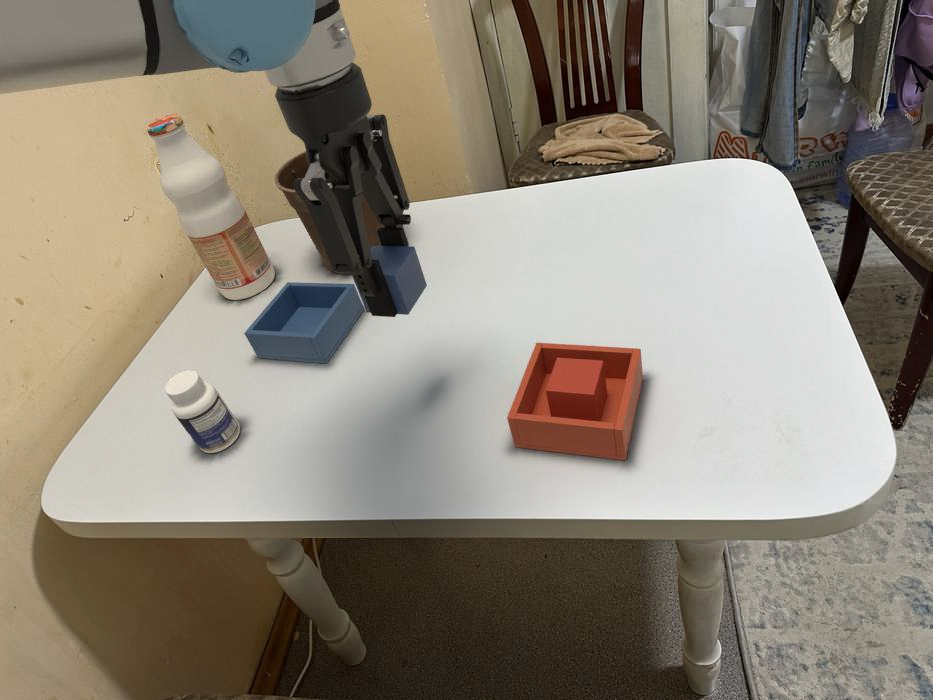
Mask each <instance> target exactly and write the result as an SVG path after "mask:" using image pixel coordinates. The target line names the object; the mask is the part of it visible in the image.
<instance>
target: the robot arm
mask: <svg viewBox="0 0 933 700" xmlns="http://www.w3.org/2000/svg"><path fill="white" fill-rule="evenodd" d="M356 57H357V54H356V51H355V48H354V44H353V41H352V39H351V33H350V30H349V28H348V26H347V23H346V21H345V17H344V15H343V12H342V9H341V4H340V1H339V0H0V95H5V94H12V93H21V92H27V91H36V90H42V89H43V90H44V89H50V88H59V87H65V86H73V85H79V84H80V85H81V84H87V83H96V82H104V81H111V80H118V79H126V78H133V77H143V76H158V75H169V74H175V73H182V72H190V71H199V70H206V69H216V68H219V69H221V70H226V71H228V72H230V73H234V74H242V73H243V74H244V73H250V72H264V74H265V77H266V79H267V82H268V83H269V84H270V85H271V86H273V87H275V88H276V91H275V94H274V97H275V99H276V102H277V104H278V108H279V109H280V112H281V114H282V116H283V119H284V122H285V125H286V127H287V128H288V130H289V132H290V133H291V134H292V135H294V136H295V137H297V138H299V139H300V140H301V141H302V143H303V144H304V147H305V151H306V156H307V162H308V164H309V166H310V167H309V169H308V171H307V173H306V175H305V177H304V178H297V179H295V181H294V190H295V191H296V193H297V194H298V195H299V196H300V198H301V199H302V200H303V202H304V203H305V204H306V206H307V208H308V211H309V213H310V216H311V218H312V221H313V223H314V225H315V228H316V230H317V233H318V235H319V237H320V240H321V242H322V245H323V247H324V249H325V252H326V254H327V257H328V259H329V261H330V264H331V266H332V269H333V271H334V274H350V275H351V274H353V276H354V278H355V281H356V283H357V286H358V288H359V291H360V293H361V294H362V295H363V296H364V297H365V300H366V302H367V305H368V307H369V310H370V312H371V313H370V314H371V317H386V318H395V317H397V315H398V314H397V313H398V312H397V309H396V307H395V304H394V301H393V299H392V296H391V293H390V291H389V288H388V285H387V282H386V280H385V277H384V274H383V271H382V268H381V265H380V263H379V260H372V257H371V252H370V247H369V242H368V237H367V232H366V227H365V222H364V217H363V212H362V207H361V202H360V197H359V195H360V194H361V193H362V194H363V196H364V198H365V199H366V201H367V203H368V205H369V206H370V208H371V210H372V211H373V213H374V215H375V217H376V218H377V220H378V222H379V224H380V225H384V227H385V228H379V229H378V230H377V234H378V237H379V240H380V242H381V245H382V246H410V243H409V239H408V237H407V235H406V231H405V227H404V226H409V225H410V224H411V222H412V216H411V214H410V213H409V214H404V212H405V211H408V210H409V209H410V206H411V204H410V203H411V202H410V200H409V196H408V193H407V190H406V186H405V184H404V180H403V177H402V174H401V171H400V168H399V164H398V161H397V159H396V155H395V152H394V148H393V145H392V143H391V140H390V134H389V133H390V132H389V126H388V120H387V117H386V115H385V114H383V113H382V114H371V115H368V114H369V113H370V112H371V110H372V107H373V106H372V105H373V104H372V99H371V96H370V93H369V89H368V86H367V83H366V79H365V77H364V73H363V71H362V68H361V66H359V65H357V64H356V63H355V62H354V61H355V59H356ZM336 185H349V186H339V187H338V186H336ZM333 271H332V272H333Z"/></svg>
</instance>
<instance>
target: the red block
mask: <svg viewBox="0 0 933 700" xmlns="http://www.w3.org/2000/svg"><path fill="white" fill-rule="evenodd" d="M546 395H547V400H548V405H549V409H550V414H551V417H560V418H570V419H579V420H589V421H599V422H600V420H601V417H602V413H603V409H604V405H605V401H606V397H607V387H606V378H605V370H604V362H603V361H601V360H586V359H571V358H557V359H556V362H555V365H554V368H553V371H552V373H551V376H550V379H549V382H548V385H547V388H546Z"/></svg>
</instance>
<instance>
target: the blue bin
mask: <svg viewBox="0 0 933 700" xmlns="http://www.w3.org/2000/svg"><path fill="white" fill-rule="evenodd" d="M364 310H365V306H364V304H363V302H362V299H361V297H360V294H359V292H358V289H357V287H356V284H355V283H337V282H336V283H333V282H331V283H329V282H298V281H297V282H296V281H295V282H294V281H293V282H292V281H291V282H286V283H285V284H284V285H283V287H282V288H281V289H280V290H279V291H278V293H277V294H276V295H275V296H274V297H273V299H272V300H271V301H270V302H269V303H268V304H267V305H266V307H265V308H264V309H263V310H262V312H261V313H260V314H259V315H258V316H257V317H256V318H255V320H254V321H253V322H252V323H251V324H250V326H249V327H248V328H247V329H246V330H245V332H243V334H244V336H245V338H246V340H247V341H248V342H249V344H250V346H251V348H252V349H253V351H254V353H255V355H256V357H257V358H258V359H266V360H267V359H268V360H277V361H278V360H280V361H289V362H291V361H293V362H305V363H316V364H317V363H318V364H328V363H329V362H330V360H331V358H332V357H333V356H334V354H335V353H336V351H337V350H338V348H339V347H340V345H341V344H342V342H343V341H344V340H345V338H346V337H347V335H348V334H349V332H350V331H351V329H352V328H353V327H354V325H355V324H356V323H357V321H358V319H359V318H360V316H361V315H362V314H363V312H364Z"/></svg>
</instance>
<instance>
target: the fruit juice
mask: <svg viewBox="0 0 933 700" xmlns="http://www.w3.org/2000/svg"><path fill="white" fill-rule="evenodd" d="M146 132H147V134H148V135H149V136H150V139H152V140H154V141H155V145H156V151H157V157H158V163H159V169H160V178H159V179H160V181H159V182H160V186H161V189H162V192H163V193H164V195H165V196H166V198H167V199H168V200H169V201H170V202H171V203H172V204H173V205H174V206H175V208H176V209H177V217H178V220H179V222H180V224H181V226H182V229H183V230H184V233H185V234H186V236H187V238H188V239H189V240H190V242H191V244H192V246H193V247H194V249H195V251H196V253H197V255H198V256H199V258H200V260H201V262H202V263H203V265H204V267H205V269H206V271H207V272H208V274H209V276H210V277H211V280H212V281H213V283H214V285H215V287H216V288H217V289H218V291H219V293H220V294H221V296H223V297H224V298H225V299H228V300H231V301H238V300H243V299H244V300H245V299H248V298H251V297H253V296H256V295H257V294H259V293H261V292H263V291H265V289H267V288H268V287H269V286H270V285H271V284H272V283H273V281H274V280H275V276H276V275H275V274H276V273H275V268H274V266H273V264H272V262H271V260H270V258H269V255H268V254H267V251H266V250H265V248H264V245H263V244H262V241H261V239H260V237H259V235H258V234H257V233H258V232H257V231H256V229H255V227H254V226H253V223H252V221H251V219H250V217H249V215H248V213H247V211H246V209H245V207H244V205H243V203H242V201H241V199H240V197H239V196H238V194H237V192H235V191H234V190H233V189H232V188H231V186H230V185H229V184H228V179H227V175H226V174H227V173H226V171H225V168H224V167H223V165H222V163H221V162H220V161H219V160H218V159H217V158H216V157H215V156H213V155H212V154H210V153H208V151H206V150H205V149H204V148H203V147H202V146H201V145H200V144H199V143H198V142H197V141H196V140H195V139H194V138H193V137H192V136H191V134H189V133H188V132H187V130H186V129H185V123H184V120H183V118H182V117H181V116H180V114H177V113H173V114H167V115H164V116H160V117H158V118H156V119H154V120H152V121H151V122H149V123H147V125H146Z"/></svg>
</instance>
